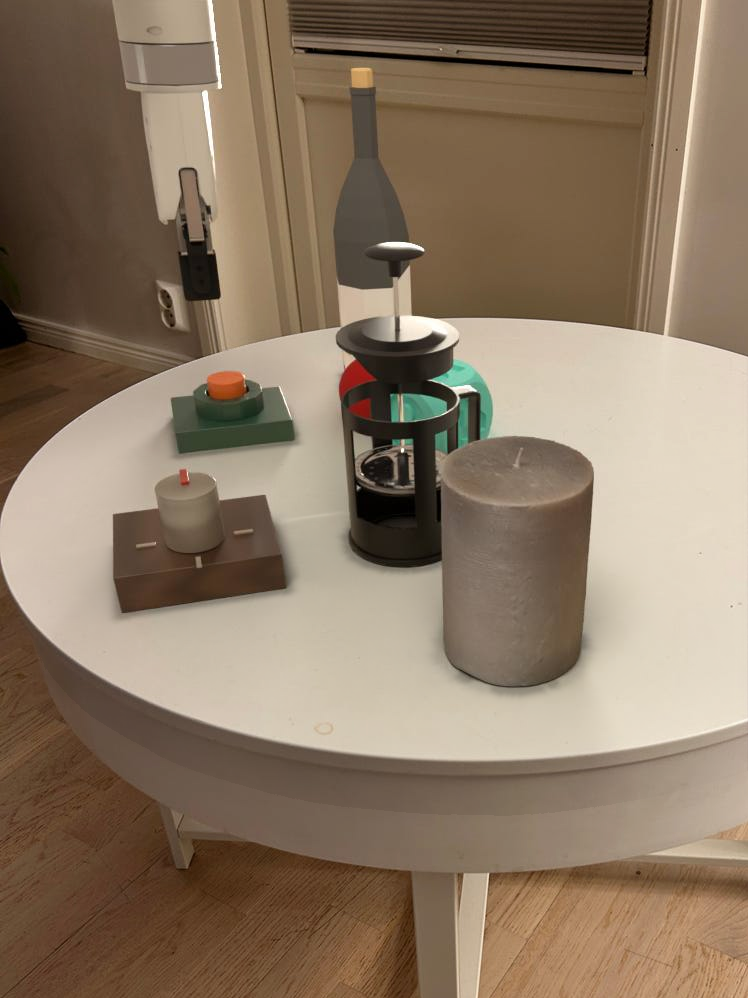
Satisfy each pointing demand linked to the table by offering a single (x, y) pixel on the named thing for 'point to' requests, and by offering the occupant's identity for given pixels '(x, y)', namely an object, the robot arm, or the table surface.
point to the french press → (400, 426)
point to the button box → (231, 419)
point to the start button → (226, 385)
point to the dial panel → (196, 558)
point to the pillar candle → (515, 557)
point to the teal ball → (431, 407)
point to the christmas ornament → (352, 378)
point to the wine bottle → (367, 221)
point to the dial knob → (190, 512)
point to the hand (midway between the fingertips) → (202, 297)
